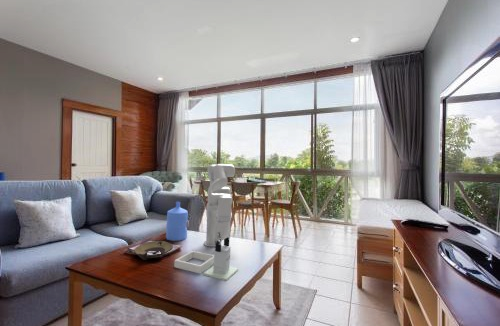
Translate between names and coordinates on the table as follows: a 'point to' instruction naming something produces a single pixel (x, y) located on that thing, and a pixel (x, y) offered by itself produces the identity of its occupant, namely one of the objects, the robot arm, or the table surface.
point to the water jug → (176, 223)
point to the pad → (221, 275)
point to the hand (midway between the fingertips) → (222, 248)
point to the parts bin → (196, 268)
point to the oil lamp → (152, 249)
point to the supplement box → (222, 260)
